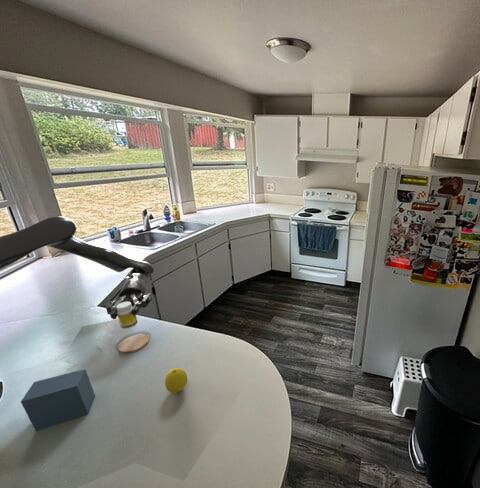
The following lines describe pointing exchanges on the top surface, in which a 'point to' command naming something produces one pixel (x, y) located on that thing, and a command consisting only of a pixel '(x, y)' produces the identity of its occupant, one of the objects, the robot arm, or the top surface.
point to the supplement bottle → (126, 315)
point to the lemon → (175, 380)
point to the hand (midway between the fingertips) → (123, 314)
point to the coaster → (133, 343)
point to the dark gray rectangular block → (58, 399)
